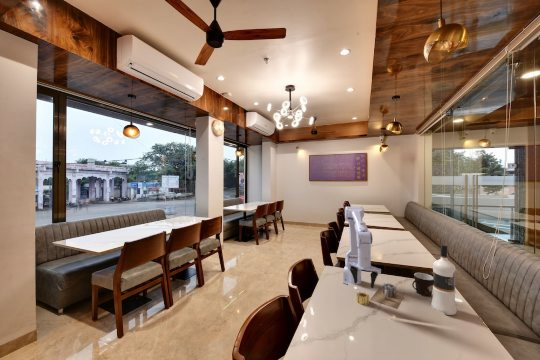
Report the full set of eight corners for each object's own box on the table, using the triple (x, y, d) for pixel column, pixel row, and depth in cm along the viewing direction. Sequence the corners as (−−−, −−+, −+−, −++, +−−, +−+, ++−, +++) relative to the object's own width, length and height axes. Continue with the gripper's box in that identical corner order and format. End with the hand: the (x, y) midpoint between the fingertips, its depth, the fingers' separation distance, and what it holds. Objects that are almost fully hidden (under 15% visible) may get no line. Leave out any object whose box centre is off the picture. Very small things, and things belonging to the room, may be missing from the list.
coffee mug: (427, 291, 123) (427, 273, 123) (437, 300, 114) (438, 280, 114) (404, 290, 124) (405, 272, 124) (413, 299, 116) (413, 279, 115)
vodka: (436, 302, 112) (436, 241, 112) (459, 311, 105) (460, 246, 104) (427, 308, 107) (428, 244, 107) (451, 318, 99) (452, 249, 99)
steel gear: (384, 296, 116) (384, 287, 116) (382, 291, 121) (382, 282, 121) (396, 298, 114) (396, 289, 114) (394, 292, 119) (394, 284, 119)
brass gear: (354, 304, 110) (355, 295, 110) (359, 299, 115) (359, 290, 115) (367, 309, 107) (367, 299, 107) (370, 303, 111) (370, 294, 111)
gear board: (369, 302, 113) (369, 291, 112) (380, 288, 126) (380, 278, 126) (397, 311, 105) (397, 299, 105) (405, 296, 119) (405, 285, 118)
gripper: (346, 255, 112) (346, 283, 112) (378, 262, 103) (377, 292, 103) (351, 251, 117) (351, 278, 118) (382, 258, 108) (381, 287, 108)
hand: (363, 284), depth 111 cm, fingers open, 7 cm apart
